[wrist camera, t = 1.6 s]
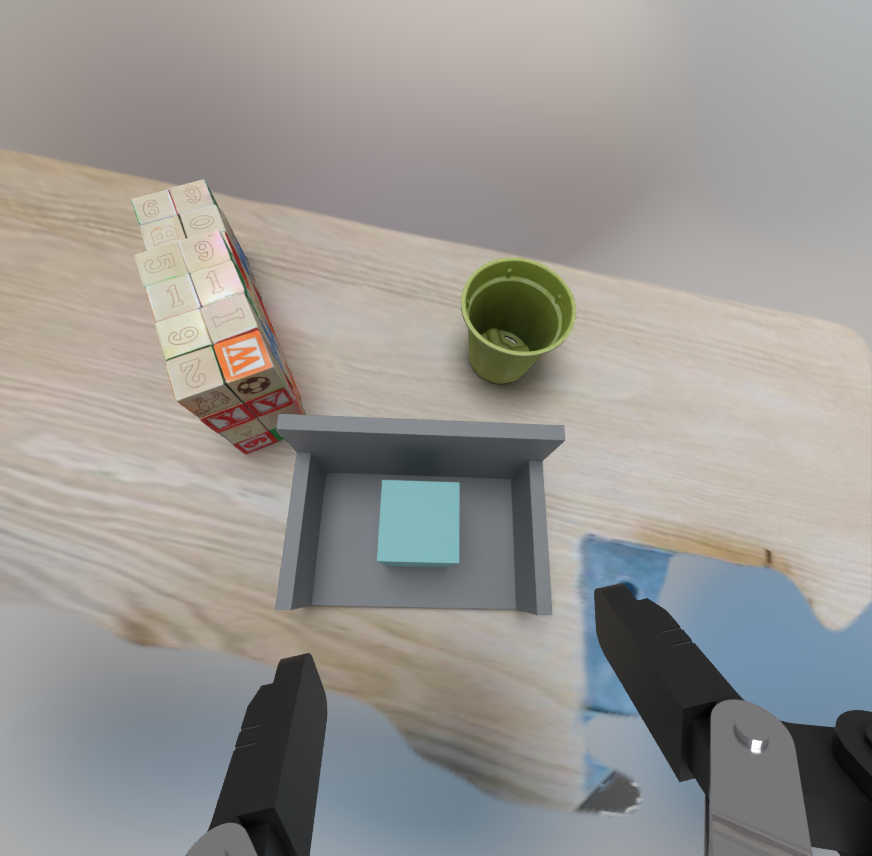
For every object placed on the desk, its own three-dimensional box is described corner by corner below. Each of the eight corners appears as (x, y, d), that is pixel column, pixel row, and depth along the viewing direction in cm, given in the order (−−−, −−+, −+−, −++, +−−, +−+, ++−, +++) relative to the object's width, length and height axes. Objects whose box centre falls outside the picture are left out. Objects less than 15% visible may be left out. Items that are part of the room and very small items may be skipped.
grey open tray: (525, 608, 35) (580, 621, 23) (301, 604, 34) (246, 615, 23) (519, 470, 39) (564, 425, 27) (317, 463, 38) (278, 413, 27)
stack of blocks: (185, 273, 44) (105, 163, 32) (245, 255, 45) (189, 142, 34) (245, 456, 38) (173, 401, 26) (313, 430, 39) (272, 365, 27)
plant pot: (433, 370, 42) (439, 319, 33) (479, 302, 45) (494, 239, 36) (519, 417, 40) (546, 376, 32) (559, 343, 43) (594, 288, 35)
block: (447, 567, 34) (459, 563, 26) (385, 566, 34) (376, 561, 26) (448, 505, 36) (459, 482, 28) (388, 503, 36) (382, 479, 28)
